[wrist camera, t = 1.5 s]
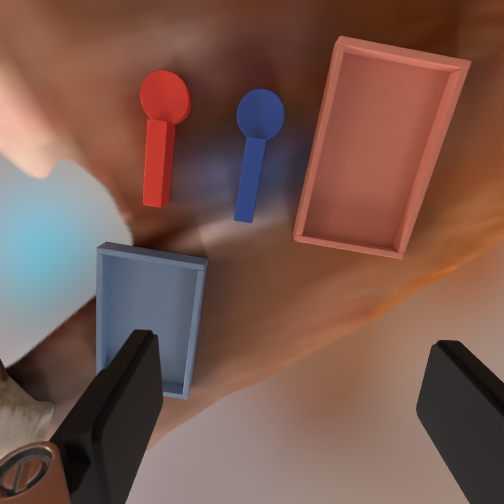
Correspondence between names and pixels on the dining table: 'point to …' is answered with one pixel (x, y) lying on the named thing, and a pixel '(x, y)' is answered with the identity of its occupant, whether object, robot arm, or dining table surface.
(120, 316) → the blue tray
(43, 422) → the ceramic sculpture
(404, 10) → the dining table surface
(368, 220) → the rose tray
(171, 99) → the red spoon
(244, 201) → the blue spoon
